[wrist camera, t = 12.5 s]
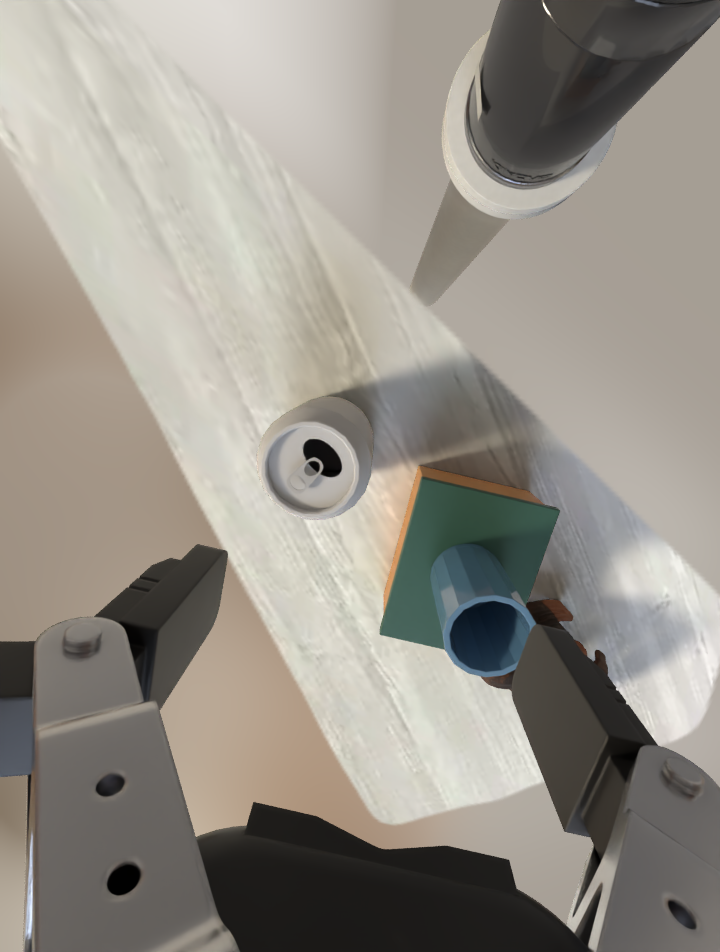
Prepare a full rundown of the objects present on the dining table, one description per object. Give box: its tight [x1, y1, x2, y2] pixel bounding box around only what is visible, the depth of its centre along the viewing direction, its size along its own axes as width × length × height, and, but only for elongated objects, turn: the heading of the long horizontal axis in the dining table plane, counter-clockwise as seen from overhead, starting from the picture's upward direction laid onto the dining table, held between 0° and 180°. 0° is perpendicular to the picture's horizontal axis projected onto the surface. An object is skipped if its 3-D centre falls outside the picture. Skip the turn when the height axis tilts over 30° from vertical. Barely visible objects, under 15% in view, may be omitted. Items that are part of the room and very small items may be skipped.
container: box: [380, 466, 560, 649], centre depth 38 cm, size 14×11×6 cm
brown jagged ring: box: [481, 599, 608, 691], centre depth 40 cm, size 12×10×8 cm
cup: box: [430, 544, 536, 677], centre depth 31 cm, size 6×6×8 cm
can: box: [257, 396, 373, 520], centre depth 33 cm, size 8×8×12 cm
